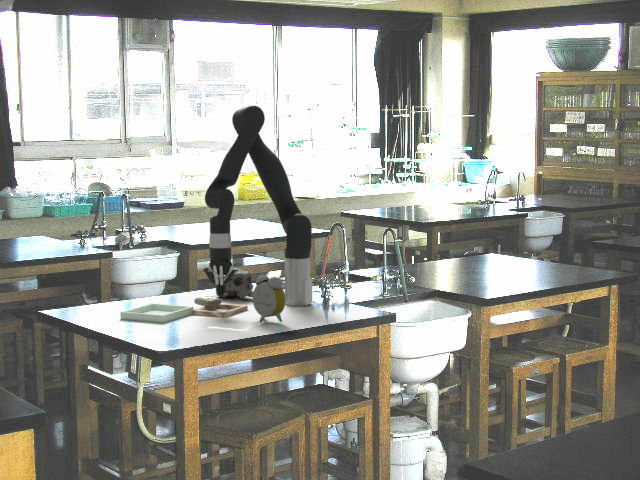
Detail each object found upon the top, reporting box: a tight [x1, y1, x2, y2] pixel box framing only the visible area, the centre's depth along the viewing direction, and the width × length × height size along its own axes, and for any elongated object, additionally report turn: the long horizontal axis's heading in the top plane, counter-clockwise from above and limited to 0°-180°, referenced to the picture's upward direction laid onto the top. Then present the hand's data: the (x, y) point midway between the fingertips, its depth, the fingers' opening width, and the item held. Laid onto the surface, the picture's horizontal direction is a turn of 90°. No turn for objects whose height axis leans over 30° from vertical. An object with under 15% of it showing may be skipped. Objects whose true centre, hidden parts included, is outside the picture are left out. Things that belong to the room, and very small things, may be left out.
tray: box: [119, 302, 194, 324], centre depth 355 cm, size 17×19×2 cm
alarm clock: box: [252, 274, 286, 323], centre depth 346 cm, size 12×7×15 cm, turn 44°
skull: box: [215, 267, 254, 300], centre depth 393 cm, size 12×18×12 cm, turn 46°
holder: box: [191, 303, 249, 318], centre depth 363 cm, size 13×16×2 cm
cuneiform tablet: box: [194, 294, 228, 307], centre depth 367 cm, size 7×4×12 cm
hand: (221, 295), depth 363 cm, fingers closed
